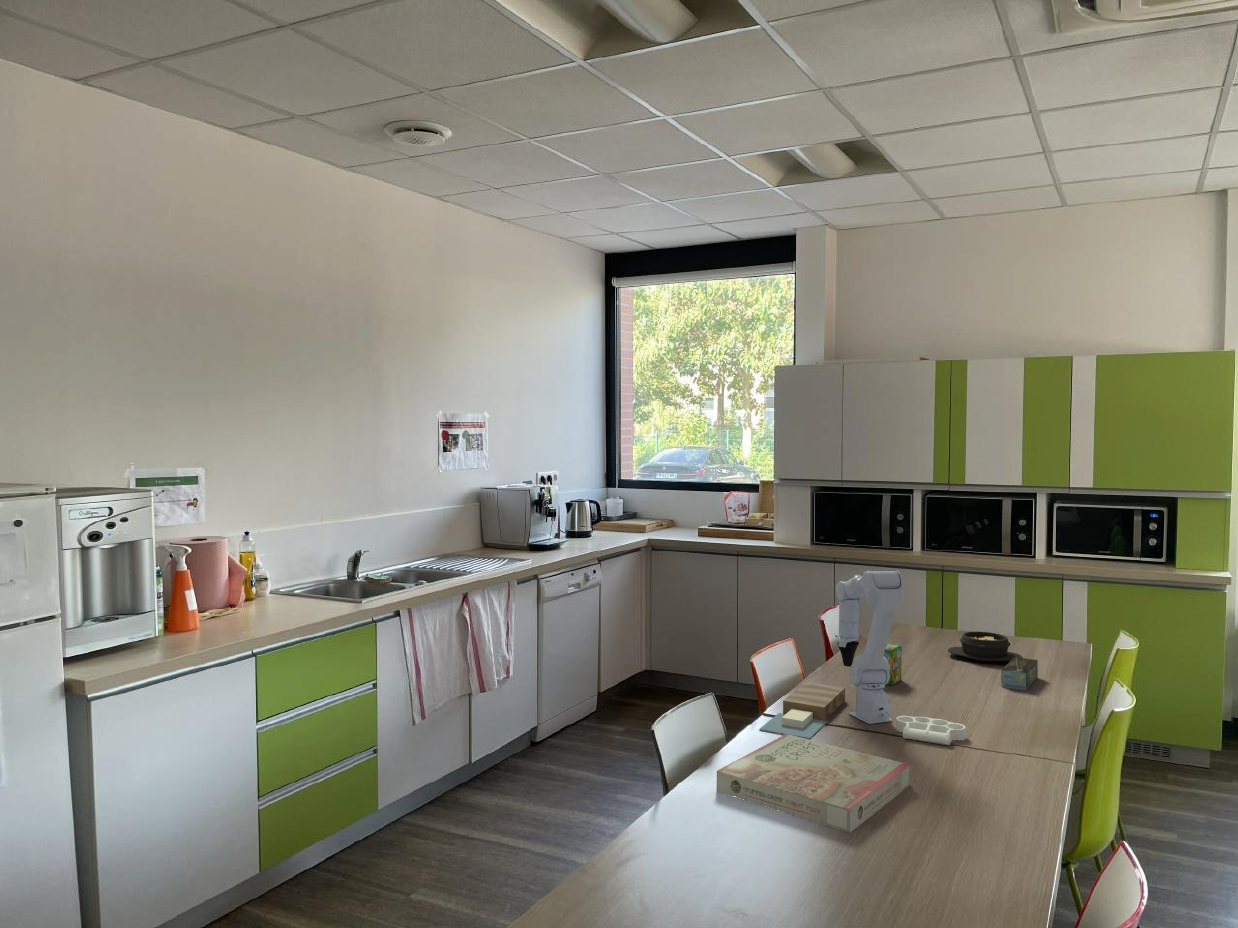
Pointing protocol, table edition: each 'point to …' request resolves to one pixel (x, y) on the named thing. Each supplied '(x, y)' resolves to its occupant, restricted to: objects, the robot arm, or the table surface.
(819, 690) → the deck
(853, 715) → the robot arm
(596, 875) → the table surface
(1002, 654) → the casserole
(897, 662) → the chalk box
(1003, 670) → the beverage carton
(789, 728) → the mat
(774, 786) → the pizza box
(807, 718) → the tile
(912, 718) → the knuckle duster
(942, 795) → the table surface
